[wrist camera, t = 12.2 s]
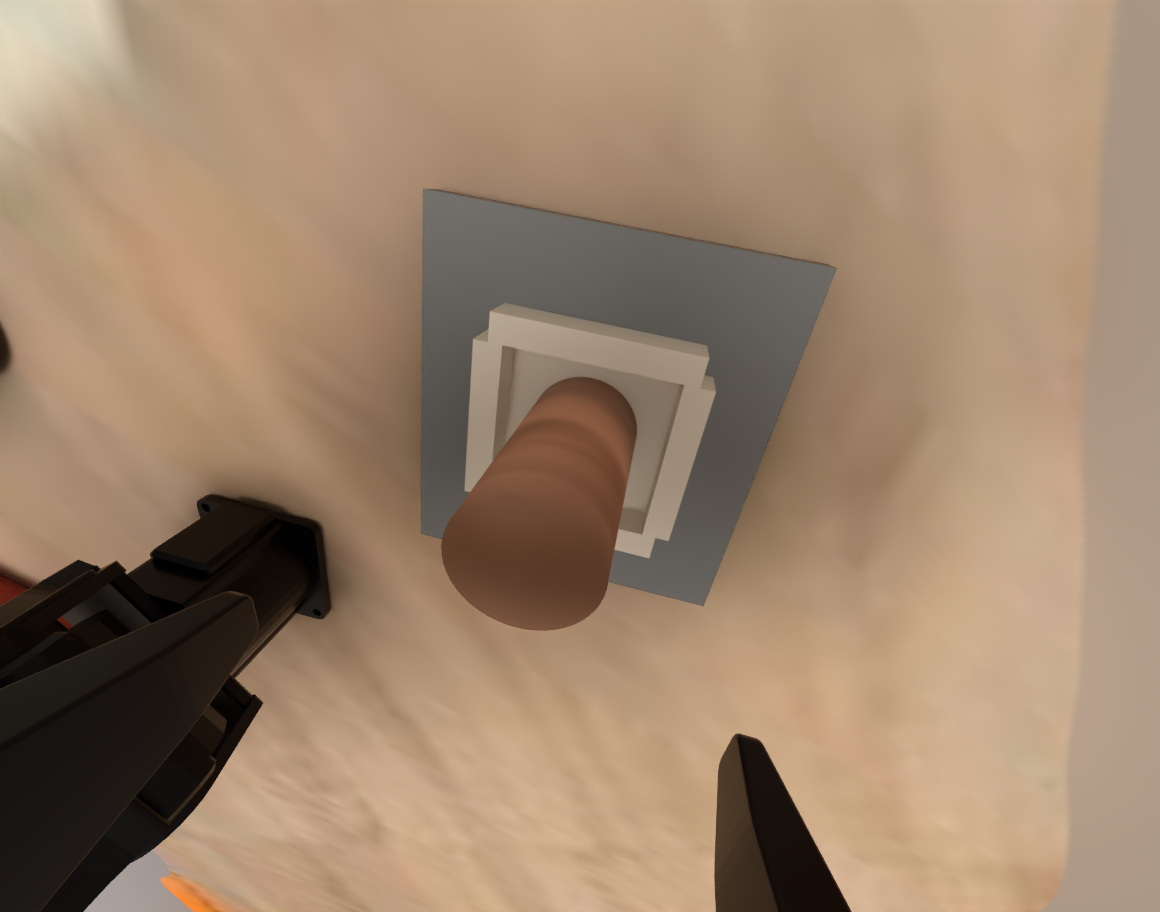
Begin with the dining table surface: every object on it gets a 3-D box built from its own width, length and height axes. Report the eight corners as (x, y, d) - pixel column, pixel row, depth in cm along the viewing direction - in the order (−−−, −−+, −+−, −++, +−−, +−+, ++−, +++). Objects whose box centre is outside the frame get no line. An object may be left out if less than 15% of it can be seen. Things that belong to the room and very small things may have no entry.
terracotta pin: (624, 485, 19) (592, 647, 12) (526, 461, 19) (439, 606, 12) (648, 390, 17) (624, 518, 10) (538, 366, 18) (443, 474, 11)
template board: (702, 590, 22) (704, 632, 20) (430, 521, 23) (404, 554, 21) (827, 264, 15) (852, 274, 13) (436, 189, 16) (399, 187, 14)
